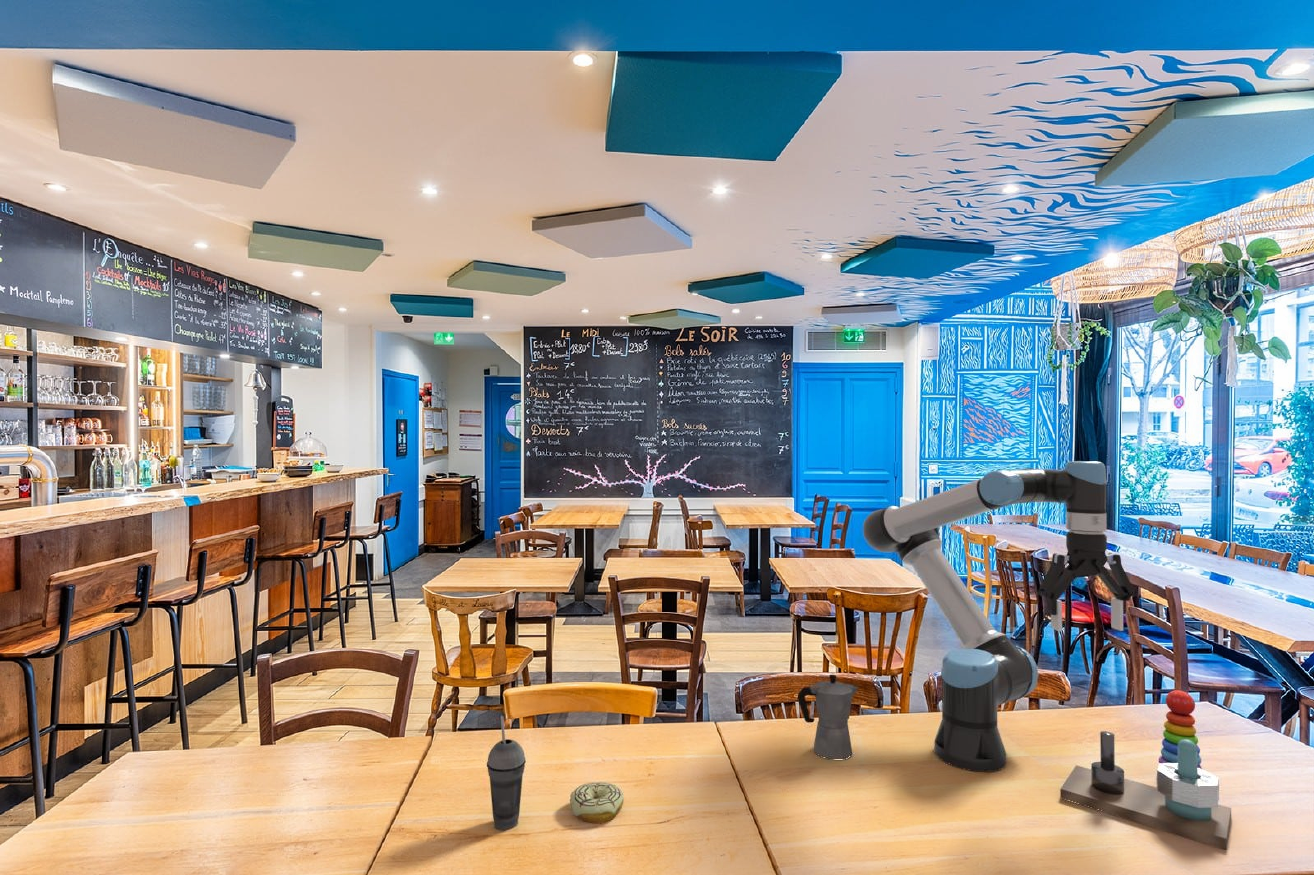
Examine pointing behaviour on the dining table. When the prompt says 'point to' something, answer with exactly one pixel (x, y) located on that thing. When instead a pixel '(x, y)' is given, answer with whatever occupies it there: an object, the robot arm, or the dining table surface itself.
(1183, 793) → the steel ring
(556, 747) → the dining table surface
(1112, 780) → the stand rod
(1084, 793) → the walnut board
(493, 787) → the beverage cup
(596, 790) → the decorated donut
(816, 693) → the coffeepot
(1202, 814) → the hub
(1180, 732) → the stacking toy
